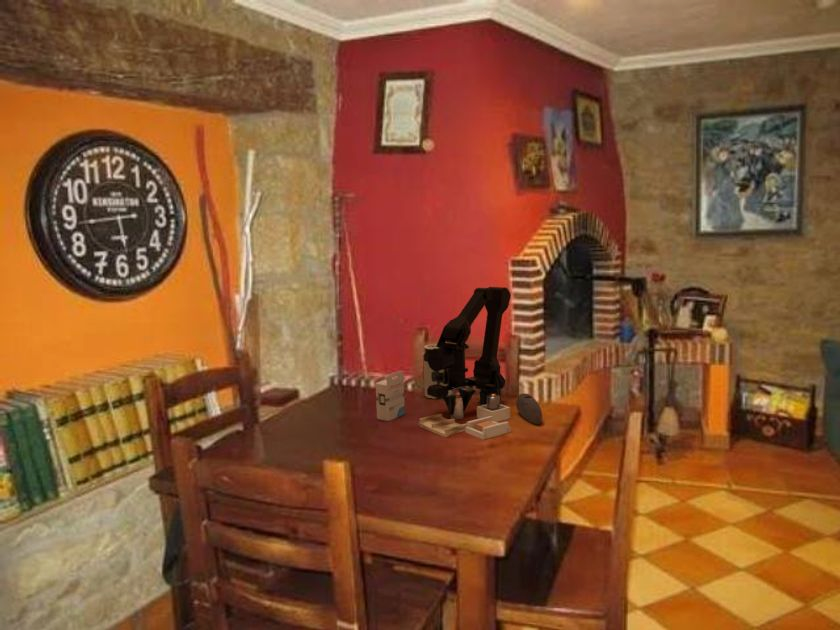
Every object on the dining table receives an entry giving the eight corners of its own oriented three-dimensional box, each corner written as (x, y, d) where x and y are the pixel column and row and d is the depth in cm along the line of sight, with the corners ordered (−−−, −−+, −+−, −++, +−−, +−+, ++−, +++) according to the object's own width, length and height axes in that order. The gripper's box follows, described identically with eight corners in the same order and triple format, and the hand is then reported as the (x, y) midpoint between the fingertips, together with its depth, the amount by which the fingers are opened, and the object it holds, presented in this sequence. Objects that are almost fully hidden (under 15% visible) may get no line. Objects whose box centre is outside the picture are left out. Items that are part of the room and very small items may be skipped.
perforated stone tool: (547, 427, 192) (547, 405, 191) (530, 429, 191) (530, 406, 190) (531, 413, 207) (531, 391, 206) (515, 414, 206) (515, 392, 205)
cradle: (491, 426, 194) (491, 415, 194) (510, 433, 188) (509, 422, 187) (465, 433, 189) (465, 422, 188) (483, 441, 182) (483, 429, 182)
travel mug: (420, 397, 228) (419, 347, 225) (431, 392, 235) (429, 343, 232) (441, 400, 224) (440, 349, 221) (451, 394, 231) (450, 344, 228)
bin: (494, 414, 206) (494, 402, 205) (510, 420, 200) (510, 407, 200) (477, 419, 202) (476, 406, 201) (492, 424, 196) (492, 411, 196)
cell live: (458, 415, 206) (457, 392, 205) (466, 418, 203) (465, 395, 202) (448, 418, 204) (447, 394, 203) (455, 421, 200) (455, 397, 199)
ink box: (393, 412, 212) (391, 367, 210) (405, 414, 209) (403, 369, 207) (376, 419, 205) (374, 373, 203) (388, 421, 202) (386, 375, 200)
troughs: (442, 420, 202) (441, 413, 202) (469, 431, 191) (469, 423, 191) (418, 425, 197) (418, 418, 197) (445, 437, 186) (444, 430, 186)
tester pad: (488, 428, 191) (488, 420, 191) (499, 432, 187) (499, 424, 187) (475, 431, 189) (475, 424, 188) (486, 435, 185) (486, 428, 184)
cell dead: (494, 415, 204) (493, 391, 203) (502, 418, 200) (502, 394, 199) (484, 417, 202) (483, 393, 200) (492, 420, 198) (492, 396, 197)
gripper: (463, 356, 212) (464, 402, 215) (416, 365, 202) (417, 413, 204) (485, 361, 203) (486, 410, 206) (437, 371, 193) (438, 422, 195)
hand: (457, 413), depth 203 cm, fingers closed on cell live, 4 cm apart
